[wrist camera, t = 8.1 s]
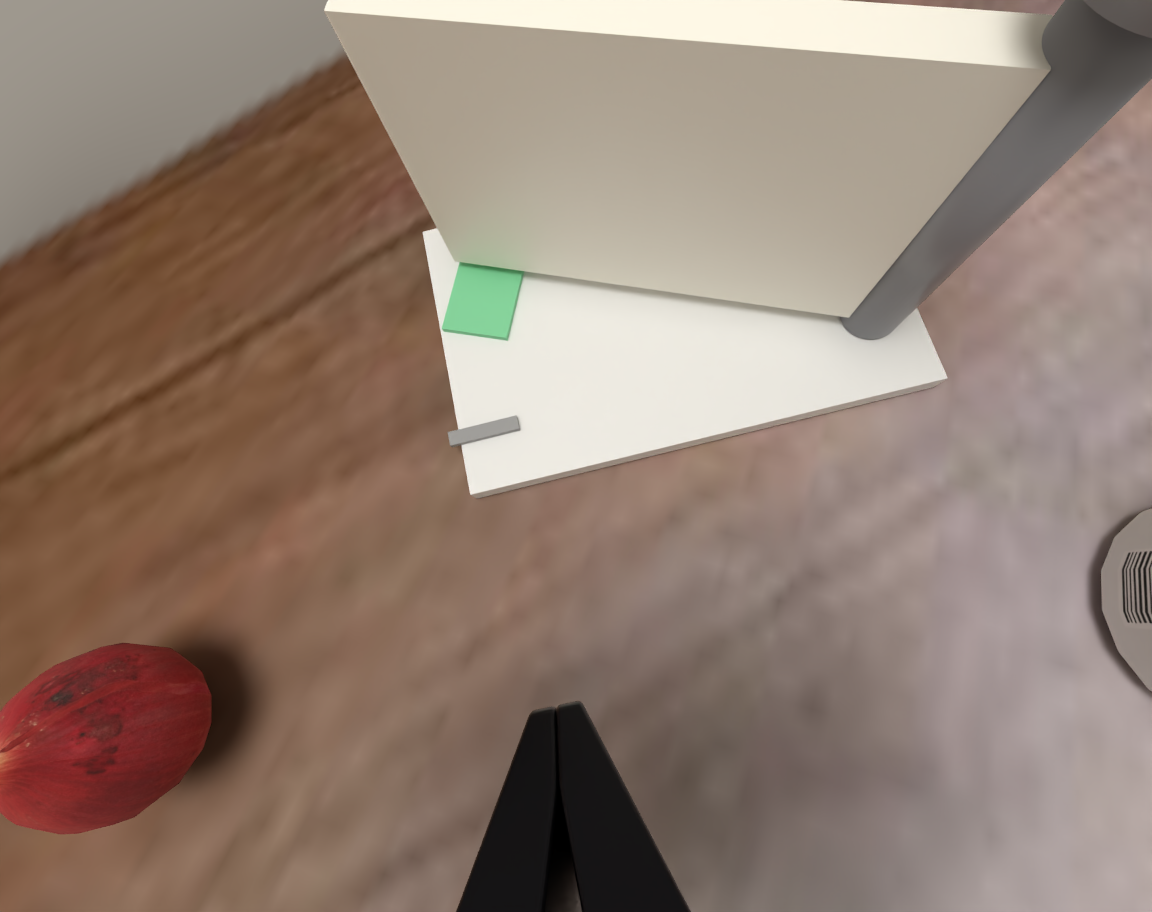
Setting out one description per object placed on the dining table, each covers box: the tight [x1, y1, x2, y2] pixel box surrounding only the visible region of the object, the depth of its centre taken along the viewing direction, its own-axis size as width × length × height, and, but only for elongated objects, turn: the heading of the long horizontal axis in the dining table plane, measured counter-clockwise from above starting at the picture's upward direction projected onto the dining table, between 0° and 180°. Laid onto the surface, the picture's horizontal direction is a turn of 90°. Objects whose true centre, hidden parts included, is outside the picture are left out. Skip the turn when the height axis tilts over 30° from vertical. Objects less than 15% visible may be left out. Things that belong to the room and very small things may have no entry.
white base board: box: [423, 229, 947, 498], centre depth 25 cm, size 20×14×1 cm
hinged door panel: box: [324, 0, 1152, 340], centre depth 17 cm, size 20×4×15 cm, turn 78°
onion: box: [0, 643, 211, 834], centre depth 19 cm, size 6×6×8 cm
